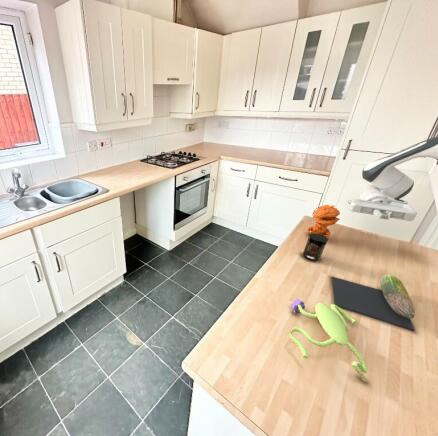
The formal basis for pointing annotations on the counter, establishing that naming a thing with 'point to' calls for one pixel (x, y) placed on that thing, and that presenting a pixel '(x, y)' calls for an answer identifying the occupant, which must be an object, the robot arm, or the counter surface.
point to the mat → (366, 302)
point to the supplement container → (314, 247)
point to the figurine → (329, 330)
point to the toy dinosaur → (324, 220)
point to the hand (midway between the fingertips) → (384, 217)
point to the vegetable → (397, 296)
